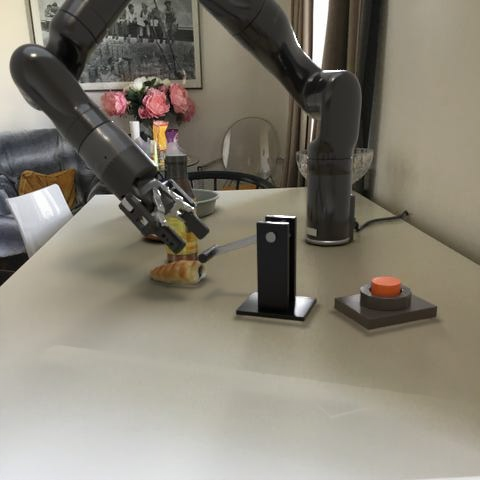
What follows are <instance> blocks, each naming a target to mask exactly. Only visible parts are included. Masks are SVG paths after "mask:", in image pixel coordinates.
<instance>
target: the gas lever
mask: <svg viewBox="0 0 480 480" xmlns="http://www.w3.org/2000/svg"><path fill="white" fill-rule="evenodd" d="M279 222H284V223H286V220H282V221H279ZM290 236H291V235H290V232H289V237H290ZM255 244H257V234H254V235H251V236H248V237H245V238H242V239H238V240H235V241H233V242H230V243H226V244H223V245H219V244H216V243H215V244H213V245H212V246H210V247H209V248H207V249H206V250H204V251H203V252H201V253H199V255H198V257H197V260H198V261H199V262H200V263H203V264H206V263H207V262H209V261H210V260H211V259H213V258H214V257H217V256H220V255H223V254H227V253H230V252H232V251H236V250H238V249H243V248H245V247H248V246H252V245H255Z"/></svg>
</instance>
